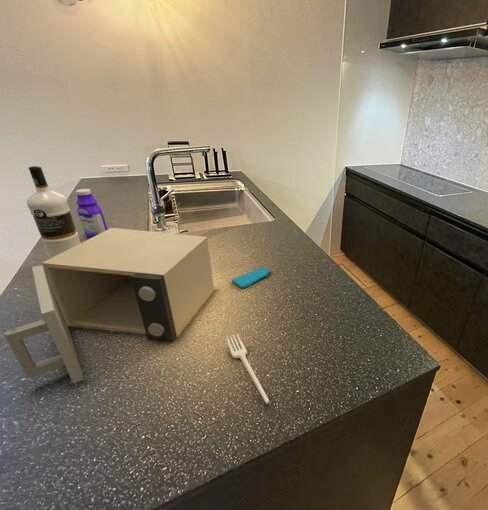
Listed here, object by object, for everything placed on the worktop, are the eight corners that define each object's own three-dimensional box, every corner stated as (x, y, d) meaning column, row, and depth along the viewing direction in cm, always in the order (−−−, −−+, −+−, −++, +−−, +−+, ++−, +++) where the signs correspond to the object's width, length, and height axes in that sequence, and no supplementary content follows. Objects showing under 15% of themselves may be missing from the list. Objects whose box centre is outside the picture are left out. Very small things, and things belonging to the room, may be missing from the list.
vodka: (96, 259, 99) (66, 164, 85) (72, 273, 91) (34, 171, 77) (69, 256, 99) (34, 162, 86) (42, 270, 91) (-1, 168, 77)
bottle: (81, 237, 112) (66, 190, 104) (95, 231, 117) (81, 187, 109) (99, 240, 111) (85, 193, 103) (112, 234, 116) (99, 189, 108)
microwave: (171, 345, 69) (156, 280, 61) (59, 333, 69) (30, 268, 62) (214, 290, 89) (207, 236, 81) (126, 281, 89) (111, 227, 82)
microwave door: (35, 400, 54) (-6, 327, 47) (27, 340, 66) (-6, 275, 59) (84, 379, 59) (54, 309, 51) (68, 327, 71) (42, 264, 63)
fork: (259, 409, 56) (259, 402, 55) (225, 343, 70) (224, 337, 69) (276, 401, 58) (276, 394, 57) (239, 338, 72) (238, 332, 71)
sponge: (274, 273, 97) (264, 265, 101) (241, 287, 89) (230, 277, 92) (274, 277, 98) (264, 269, 101) (241, 291, 90) (230, 281, 93)
